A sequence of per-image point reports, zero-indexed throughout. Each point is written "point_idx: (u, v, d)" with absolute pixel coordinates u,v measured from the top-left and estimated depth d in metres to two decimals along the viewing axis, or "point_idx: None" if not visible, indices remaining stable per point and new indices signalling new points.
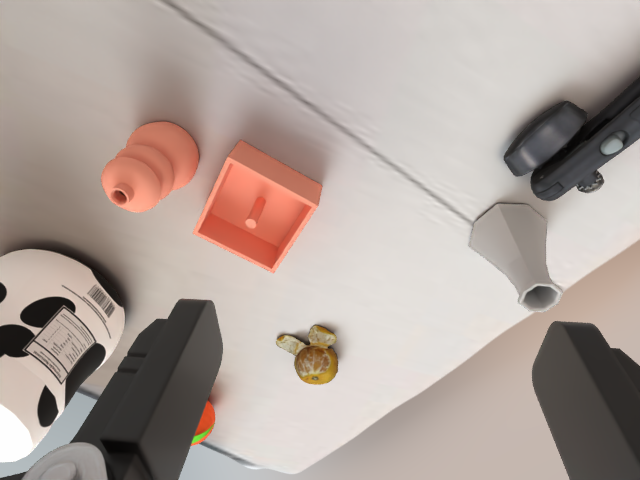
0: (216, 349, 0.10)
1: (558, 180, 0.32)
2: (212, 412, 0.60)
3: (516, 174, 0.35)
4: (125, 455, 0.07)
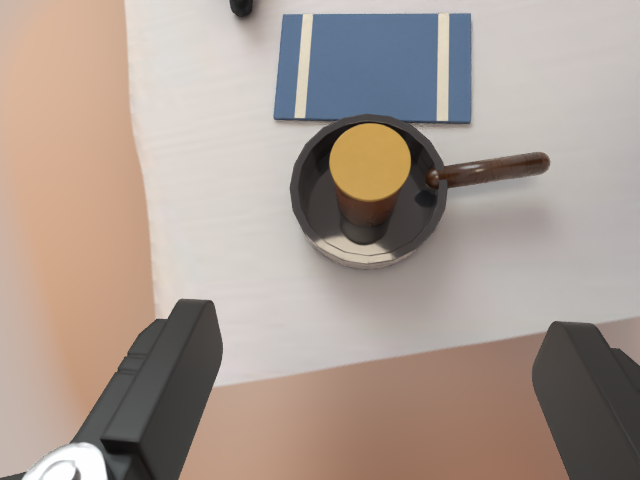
0: (216, 349, 0.10)
1: None
2: None
3: None
4: (125, 455, 0.07)
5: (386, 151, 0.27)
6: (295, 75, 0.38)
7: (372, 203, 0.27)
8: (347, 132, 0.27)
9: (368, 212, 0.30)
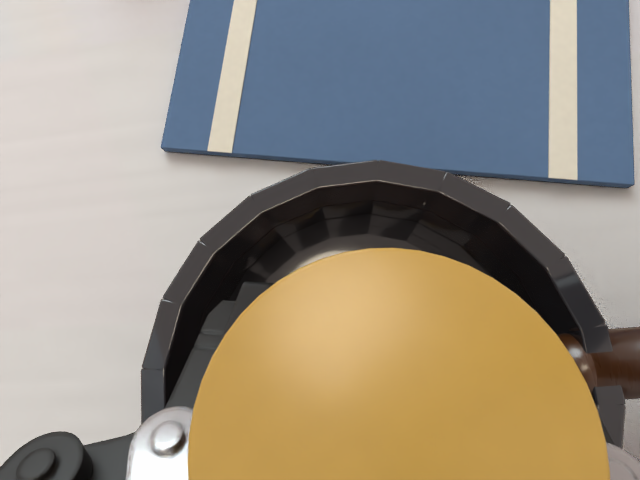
0: None
1: None
2: None
3: None
4: None
5: (478, 408, 0.05)
6: (219, 53, 0.17)
7: None
8: (288, 286, 0.06)
9: None
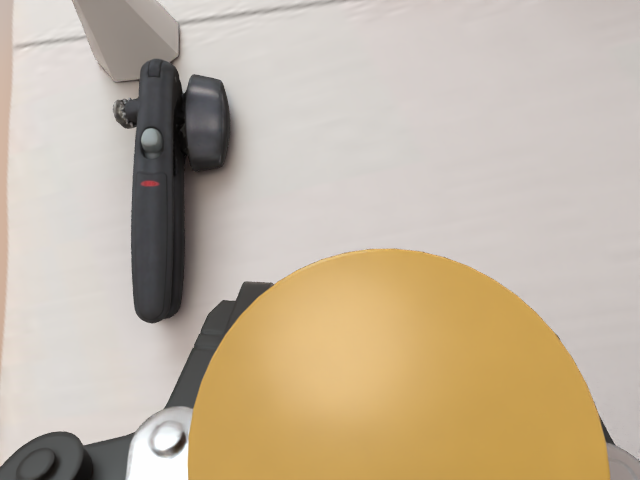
0: None
1: (159, 78, 0.26)
2: None
3: (196, 75, 0.29)
4: None
5: (478, 409, 0.05)
6: None
7: None
8: (288, 287, 0.06)
9: None
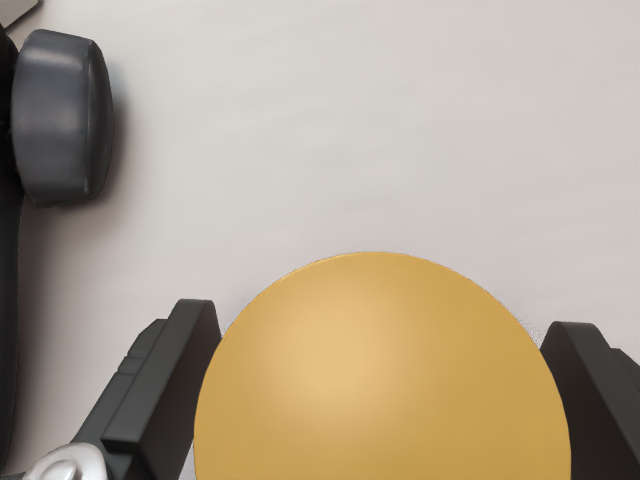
0: None
1: None
2: None
3: (44, 30, 0.16)
4: (125, 455, 0.07)
5: (454, 396, 0.06)
6: None
7: None
8: (284, 286, 0.06)
9: None
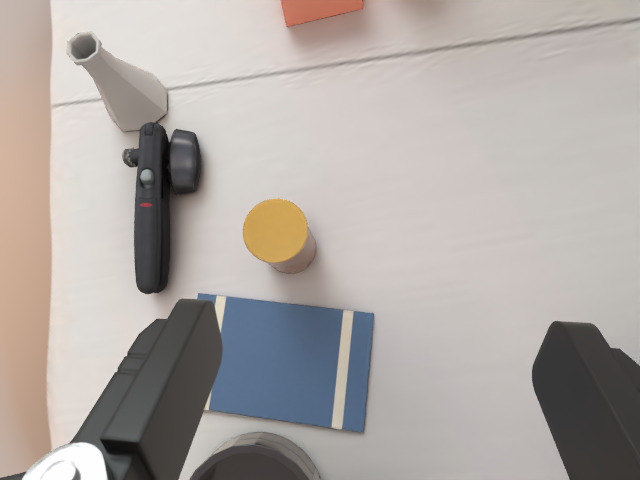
0: (216, 349, 0.10)
1: (152, 136, 0.40)
2: None
3: (177, 129, 0.43)
4: (125, 455, 0.07)
5: (288, 223, 0.33)
6: None
7: (277, 263, 0.34)
8: (259, 205, 0.34)
9: (280, 267, 0.36)
